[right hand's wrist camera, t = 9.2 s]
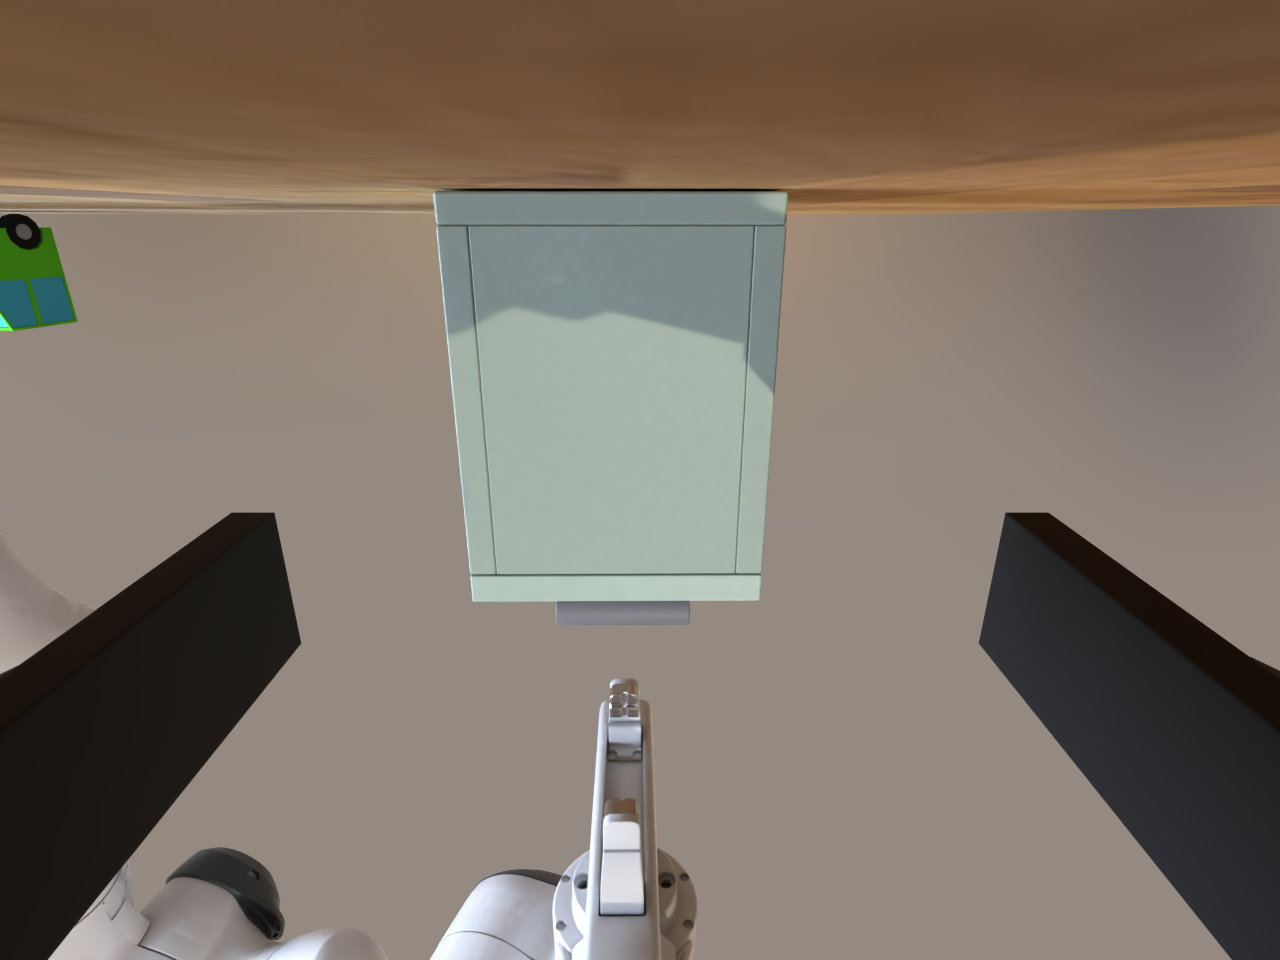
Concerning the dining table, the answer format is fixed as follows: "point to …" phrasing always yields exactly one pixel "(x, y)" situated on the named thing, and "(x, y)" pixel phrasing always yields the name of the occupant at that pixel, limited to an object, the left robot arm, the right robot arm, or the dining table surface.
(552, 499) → the chest
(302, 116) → the dining table surface
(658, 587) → the lid
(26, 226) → the toy car
